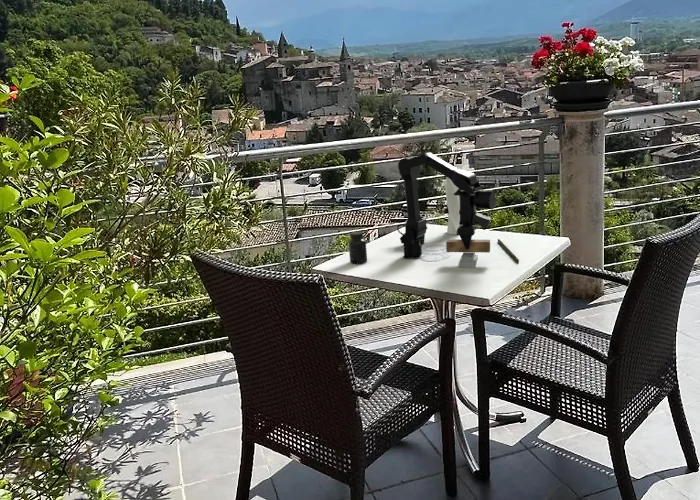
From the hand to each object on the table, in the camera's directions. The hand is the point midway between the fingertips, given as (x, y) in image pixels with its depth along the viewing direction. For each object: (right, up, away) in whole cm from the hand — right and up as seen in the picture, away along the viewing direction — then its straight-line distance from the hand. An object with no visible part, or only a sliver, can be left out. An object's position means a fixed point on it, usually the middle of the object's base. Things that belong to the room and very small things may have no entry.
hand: (468, 247), depth 255 cm
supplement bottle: (-41, -6, +13) cm, 43 cm away
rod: (+18, -2, +13) cm, 22 cm away
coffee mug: (-17, +2, +35) cm, 39 cm away
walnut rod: (0, -1, 0) cm, 1 cm away
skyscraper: (+3, +6, +48) cm, 48 cm away
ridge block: (0, -6, +2) cm, 6 cm away
